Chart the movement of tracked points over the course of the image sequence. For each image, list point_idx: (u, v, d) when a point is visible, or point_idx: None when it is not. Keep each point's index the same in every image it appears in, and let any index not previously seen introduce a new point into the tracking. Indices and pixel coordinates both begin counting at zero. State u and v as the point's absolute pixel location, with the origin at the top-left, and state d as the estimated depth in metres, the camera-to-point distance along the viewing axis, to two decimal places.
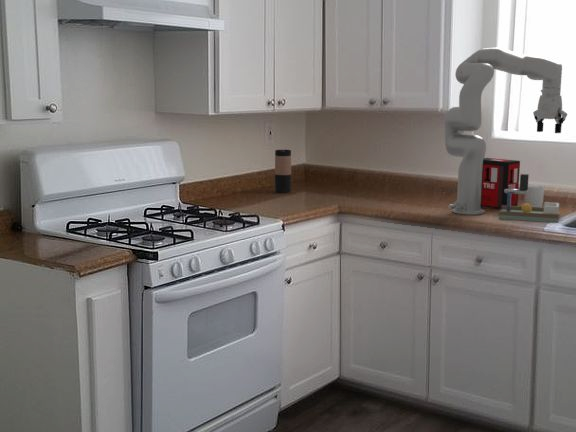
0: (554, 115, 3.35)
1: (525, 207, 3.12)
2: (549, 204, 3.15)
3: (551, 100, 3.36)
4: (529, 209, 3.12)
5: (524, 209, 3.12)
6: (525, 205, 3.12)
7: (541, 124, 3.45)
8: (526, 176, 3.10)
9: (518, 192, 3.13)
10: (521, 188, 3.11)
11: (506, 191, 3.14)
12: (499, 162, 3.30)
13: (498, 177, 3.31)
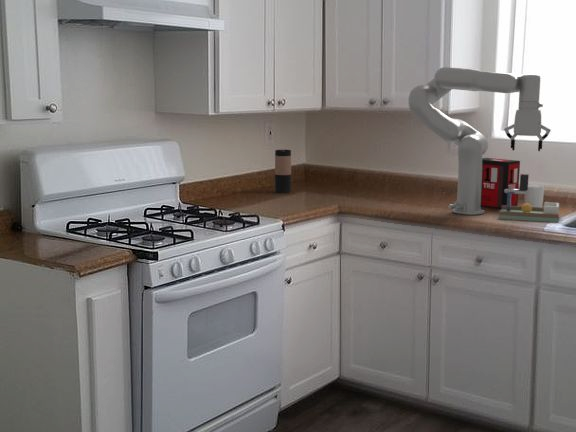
0: None
1: (525, 207, 3.12)
2: (549, 204, 3.15)
3: None
4: (529, 209, 3.12)
5: (524, 209, 3.12)
6: (525, 205, 3.12)
7: (538, 143, 3.08)
8: (526, 176, 3.10)
9: (518, 192, 3.13)
10: (521, 188, 3.11)
11: (506, 191, 3.14)
12: (499, 162, 3.30)
13: (498, 177, 3.31)
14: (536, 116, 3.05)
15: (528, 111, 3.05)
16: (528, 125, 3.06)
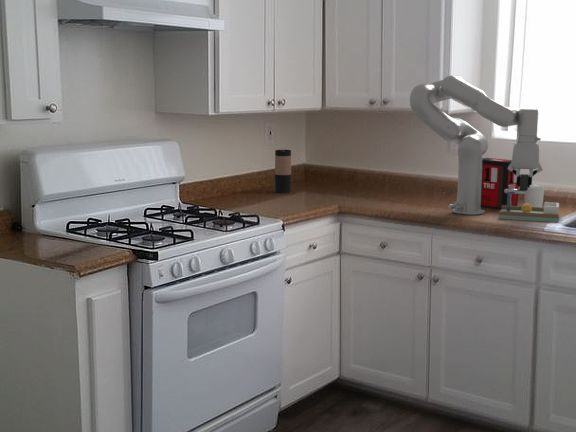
0: None
1: (525, 207, 3.12)
2: (549, 204, 3.15)
3: None
4: (529, 209, 3.12)
5: (524, 209, 3.12)
6: (525, 205, 3.12)
7: (528, 179, 3.11)
8: (526, 176, 3.10)
9: (518, 192, 3.13)
10: (521, 188, 3.11)
11: (506, 191, 3.14)
12: (499, 162, 3.30)
13: (498, 177, 3.31)
14: (533, 150, 3.07)
15: (526, 145, 3.07)
16: (526, 159, 3.08)
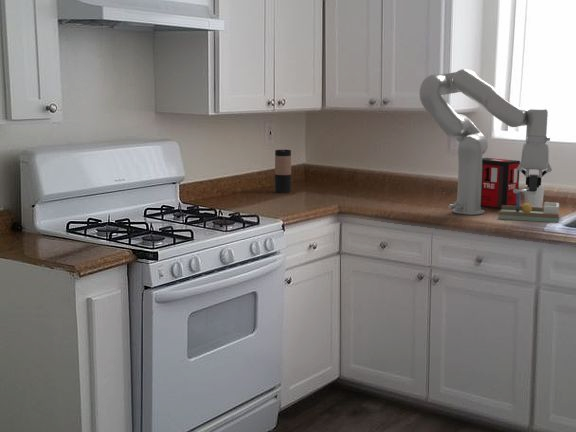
0: None
1: (525, 207, 3.12)
2: (549, 204, 3.15)
3: None
4: (529, 209, 3.12)
5: (524, 209, 3.12)
6: (525, 205, 3.12)
7: None
8: (535, 176, 3.09)
9: (527, 192, 3.12)
10: (530, 188, 3.10)
11: (515, 191, 3.13)
12: (499, 162, 3.30)
13: (498, 177, 3.31)
14: (543, 150, 3.06)
15: (535, 145, 3.06)
16: (535, 159, 3.07)
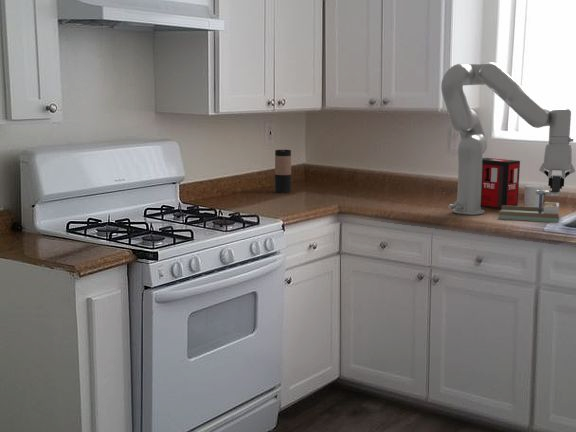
0: None
1: None
2: None
3: None
4: None
5: None
6: None
7: None
8: (558, 177, 3.06)
9: (550, 194, 3.09)
10: (553, 190, 3.08)
11: (538, 193, 3.10)
12: (499, 162, 3.30)
13: (498, 177, 3.31)
14: (566, 151, 3.03)
15: (558, 146, 3.03)
16: (558, 160, 3.04)
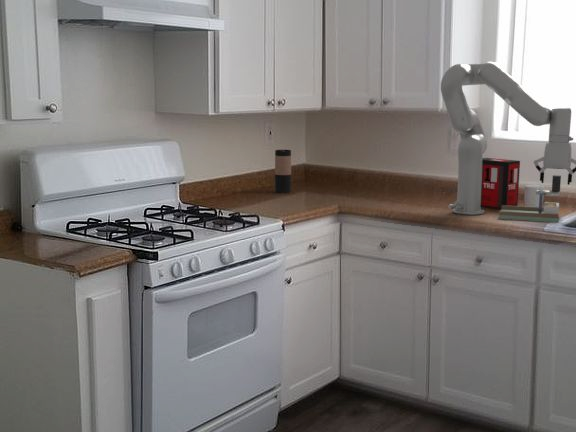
0: None
1: None
2: (549, 204, 3.15)
3: None
4: None
5: None
6: None
7: (568, 176, 3.06)
8: (558, 177, 3.06)
9: (550, 194, 3.09)
10: (553, 190, 3.08)
11: (538, 193, 3.10)
12: (499, 162, 3.30)
13: (498, 177, 3.31)
14: (566, 149, 3.03)
15: (558, 144, 3.03)
16: (558, 158, 3.04)
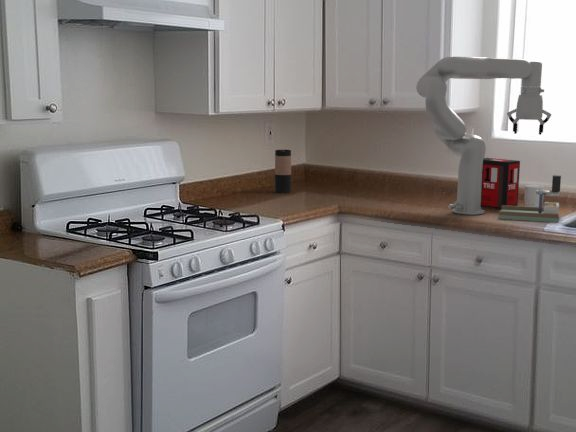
0: None
1: None
2: (549, 204, 3.15)
3: None
4: None
5: None
6: None
7: None
8: (558, 177, 3.06)
9: (550, 194, 3.09)
10: (553, 190, 3.08)
11: (538, 193, 3.10)
12: (499, 162, 3.30)
13: (498, 177, 3.31)
14: (537, 101, 3.19)
15: (529, 96, 3.19)
16: (529, 109, 3.20)
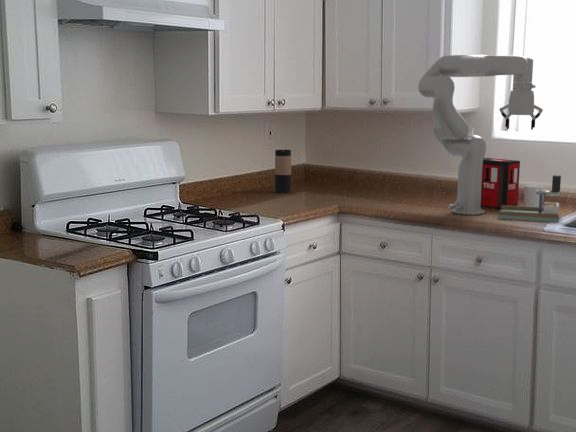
0: None
1: None
2: (549, 204, 3.15)
3: None
4: None
5: None
6: None
7: None
8: (558, 177, 3.06)
9: (550, 194, 3.09)
10: (553, 190, 3.08)
11: (538, 193, 3.10)
12: (499, 162, 3.30)
13: (498, 177, 3.31)
14: (529, 96, 3.24)
15: (521, 92, 3.24)
16: (521, 105, 3.25)
